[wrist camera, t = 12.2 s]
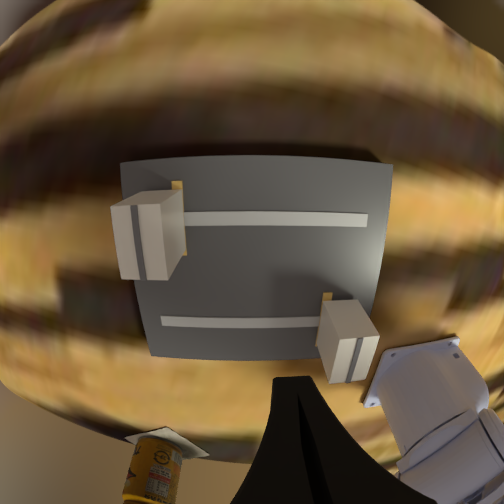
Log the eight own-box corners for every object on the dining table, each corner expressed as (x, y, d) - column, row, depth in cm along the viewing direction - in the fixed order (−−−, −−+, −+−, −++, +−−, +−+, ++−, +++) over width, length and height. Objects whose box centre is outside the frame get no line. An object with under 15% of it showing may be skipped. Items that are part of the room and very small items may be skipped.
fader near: (181, 189, 15) (159, 204, 11) (185, 249, 16) (167, 281, 12) (141, 191, 15) (109, 207, 11) (147, 249, 16) (120, 280, 12)
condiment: (124, 436, 27) (101, 511, 16) (167, 426, 25) (147, 518, 14) (164, 461, 29) (151, 531, 18) (209, 452, 28) (202, 534, 16)
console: (382, 162, 16) (393, 164, 14) (354, 342, 21) (360, 355, 19) (130, 161, 16) (119, 163, 14) (156, 343, 21) (150, 356, 19)
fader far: (357, 299, 17) (380, 336, 14) (348, 340, 19) (365, 380, 15) (323, 300, 17) (340, 340, 14) (316, 343, 19) (329, 385, 15)
